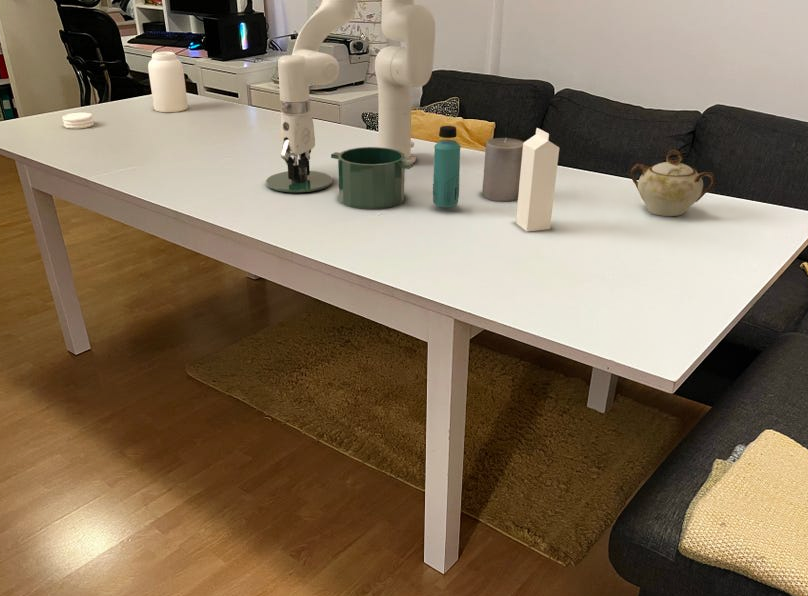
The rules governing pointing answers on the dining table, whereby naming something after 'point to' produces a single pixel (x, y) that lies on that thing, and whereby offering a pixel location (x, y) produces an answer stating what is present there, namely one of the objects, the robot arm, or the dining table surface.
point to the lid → (299, 181)
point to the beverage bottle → (446, 169)
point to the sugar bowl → (670, 186)
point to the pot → (371, 177)
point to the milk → (537, 182)
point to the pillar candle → (502, 169)
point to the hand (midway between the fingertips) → (299, 176)
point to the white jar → (167, 82)
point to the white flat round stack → (78, 120)
